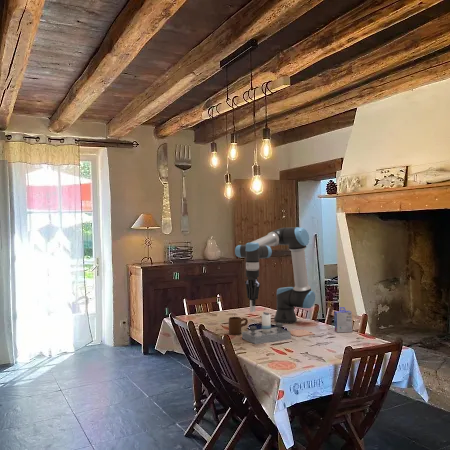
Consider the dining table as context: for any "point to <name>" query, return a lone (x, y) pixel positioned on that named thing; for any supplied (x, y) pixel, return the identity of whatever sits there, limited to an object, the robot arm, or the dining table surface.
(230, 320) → the mug
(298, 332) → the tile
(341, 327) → the ink cartridge box
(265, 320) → the cylinder
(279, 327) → the plunger far
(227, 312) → the dining table surface
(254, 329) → the plunger near
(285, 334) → the housing
